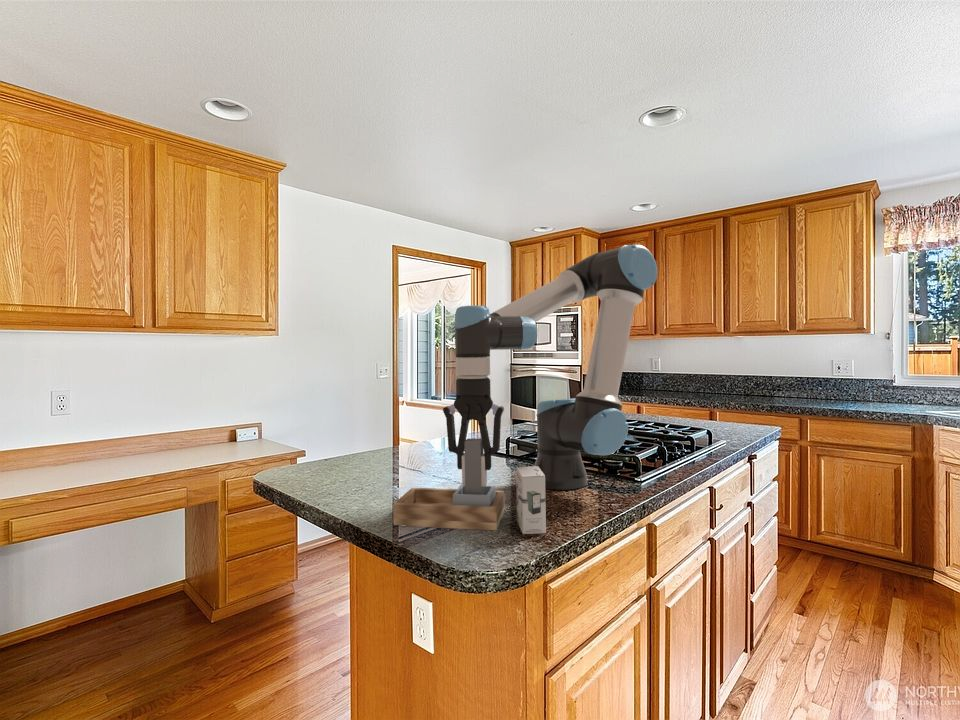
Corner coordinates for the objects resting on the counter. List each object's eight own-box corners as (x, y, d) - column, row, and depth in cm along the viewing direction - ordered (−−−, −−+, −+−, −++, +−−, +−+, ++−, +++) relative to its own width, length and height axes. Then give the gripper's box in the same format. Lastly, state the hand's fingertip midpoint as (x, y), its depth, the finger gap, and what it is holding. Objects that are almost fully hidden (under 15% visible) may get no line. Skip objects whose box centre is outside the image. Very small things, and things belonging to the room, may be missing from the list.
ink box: (515, 520, 108) (515, 465, 108) (538, 519, 109) (537, 465, 109) (522, 534, 100) (521, 475, 100) (546, 533, 100) (546, 474, 100)
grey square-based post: (495, 505, 113) (494, 437, 113) (490, 517, 105) (489, 443, 105) (461, 503, 114) (459, 436, 114) (453, 515, 107) (451, 443, 106)
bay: (504, 510, 115) (504, 490, 115) (496, 530, 102) (496, 508, 102) (412, 506, 119) (412, 487, 119) (393, 525, 106) (393, 504, 106)
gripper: (512, 376, 112) (514, 481, 112) (440, 376, 114) (442, 478, 115) (508, 377, 104) (510, 490, 105) (431, 378, 107) (433, 487, 107)
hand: (474, 484), depth 110 cm, fingers closed on grey square-based post, 3 cm apart
